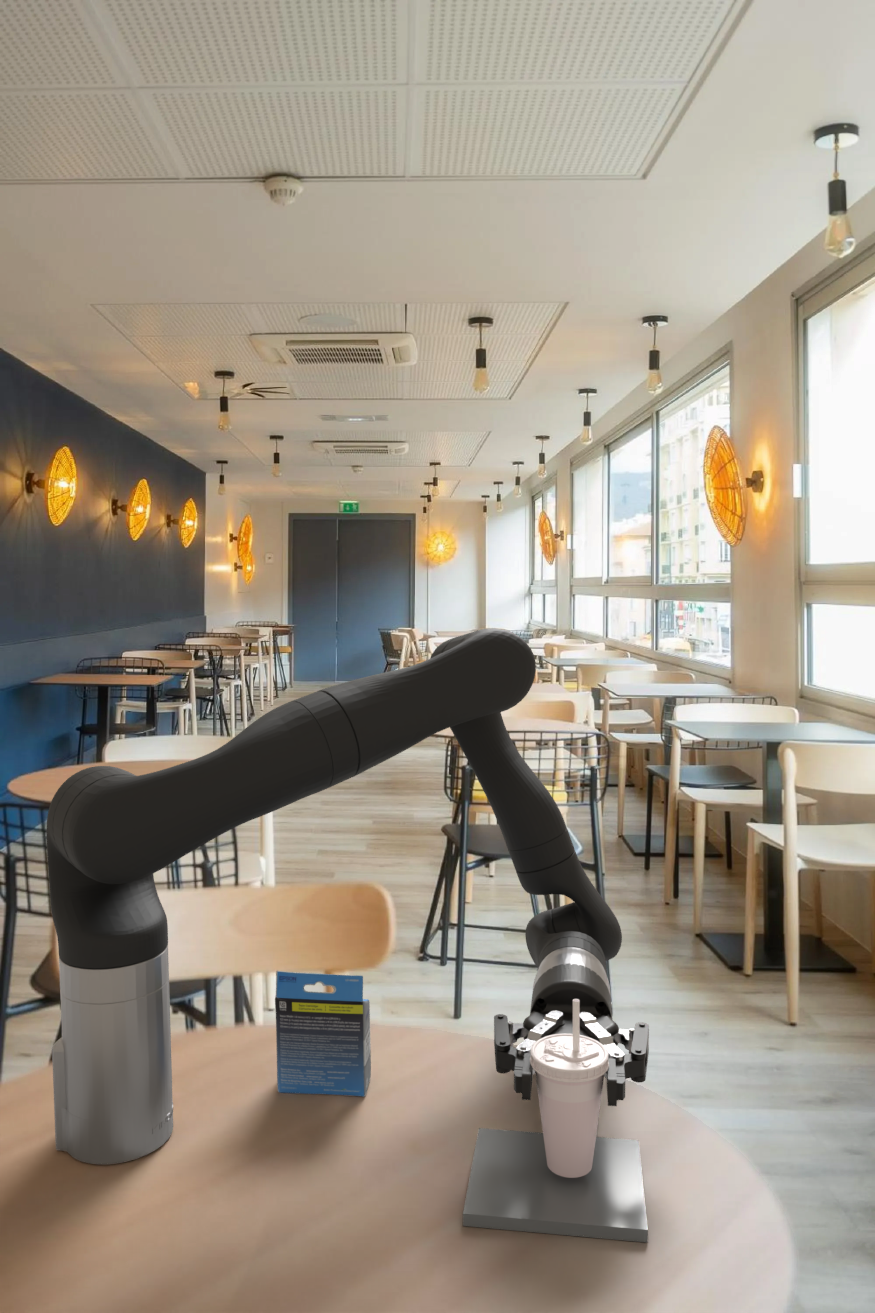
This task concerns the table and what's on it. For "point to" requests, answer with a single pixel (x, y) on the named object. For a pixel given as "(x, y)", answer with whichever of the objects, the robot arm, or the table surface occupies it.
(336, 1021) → the label tape box
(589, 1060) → the smoothie
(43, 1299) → the table surface
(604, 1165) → the metal board
